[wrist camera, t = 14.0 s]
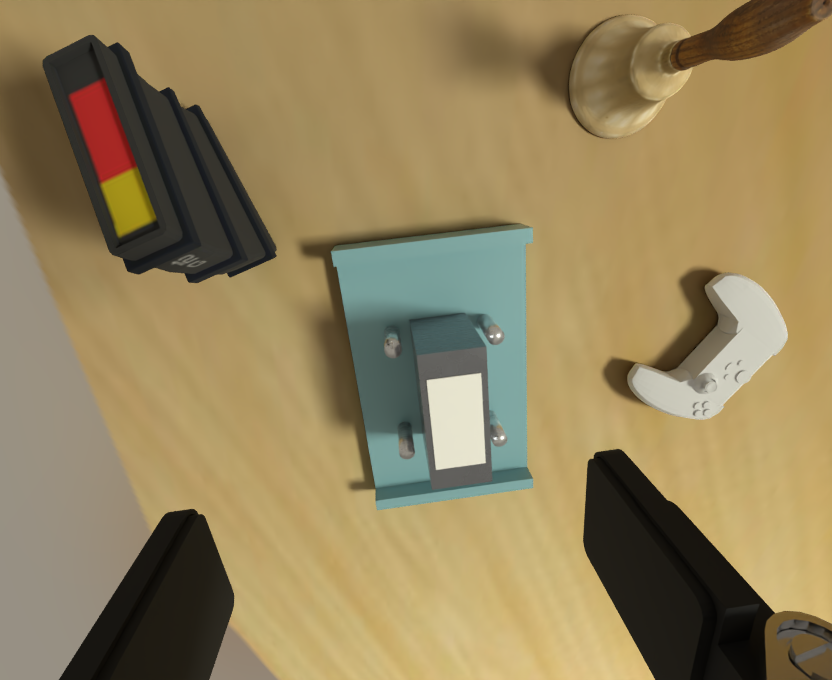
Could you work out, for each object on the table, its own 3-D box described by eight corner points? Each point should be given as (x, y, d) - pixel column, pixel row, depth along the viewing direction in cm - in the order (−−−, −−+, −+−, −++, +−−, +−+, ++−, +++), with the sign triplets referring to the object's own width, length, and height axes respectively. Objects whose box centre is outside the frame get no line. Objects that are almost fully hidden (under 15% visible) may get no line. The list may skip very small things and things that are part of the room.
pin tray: (334, 245, 35) (327, 256, 30) (520, 223, 36) (542, 230, 31) (377, 489, 45) (377, 527, 40) (523, 468, 45) (540, 503, 41)
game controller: (738, 262, 36) (828, 327, 36) (709, 259, 40) (789, 317, 41) (623, 390, 39) (706, 447, 40) (607, 374, 44) (682, 427, 44)
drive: (409, 319, 37) (416, 355, 29) (465, 312, 37) (487, 346, 30) (422, 433, 41) (431, 490, 34) (472, 427, 41) (492, 482, 34)
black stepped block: (257, 305, 35) (107, 267, 20) (202, 164, 36) (21, 25, 21) (297, 288, 35) (177, 235, 20) (242, 145, 36) (86, -8, 21)
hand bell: (686, 24, 31) (959, -113, 17) (653, 144, 34) (861, 119, 20) (582, 7, 31) (774, -154, 16) (557, 132, 33) (699, 96, 19)
